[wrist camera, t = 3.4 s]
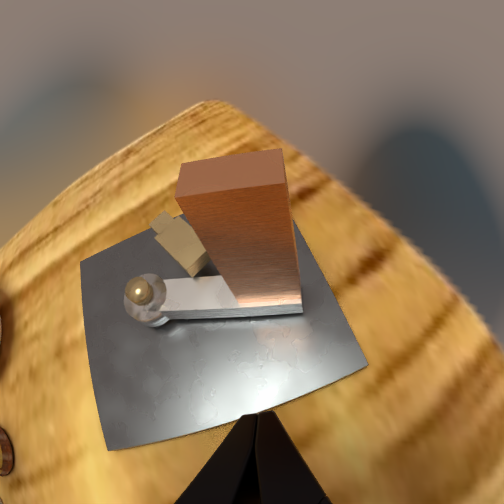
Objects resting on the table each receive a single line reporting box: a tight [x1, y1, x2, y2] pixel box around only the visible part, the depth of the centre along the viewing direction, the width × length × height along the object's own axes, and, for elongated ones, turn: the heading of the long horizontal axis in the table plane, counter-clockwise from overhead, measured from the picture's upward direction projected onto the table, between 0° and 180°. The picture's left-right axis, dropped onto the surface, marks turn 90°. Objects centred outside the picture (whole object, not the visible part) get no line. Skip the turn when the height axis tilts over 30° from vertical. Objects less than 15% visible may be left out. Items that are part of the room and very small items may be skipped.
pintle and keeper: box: [125, 210, 211, 306], centre depth 23 cm, size 7×8×5 cm
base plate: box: [80, 214, 368, 451], centre depth 24 cm, size 18×20×1 cm
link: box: [124, 148, 303, 327], centre depth 17 cm, size 13×4×12 cm, turn 90°
